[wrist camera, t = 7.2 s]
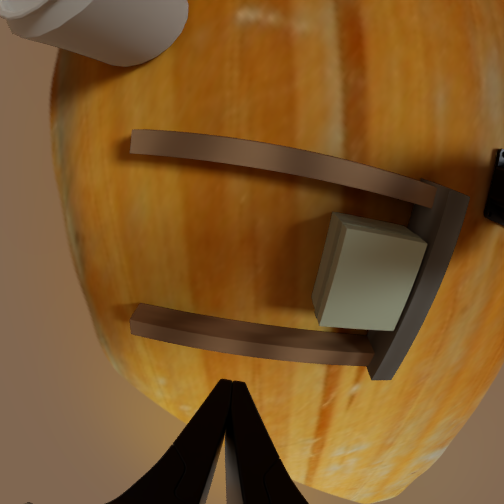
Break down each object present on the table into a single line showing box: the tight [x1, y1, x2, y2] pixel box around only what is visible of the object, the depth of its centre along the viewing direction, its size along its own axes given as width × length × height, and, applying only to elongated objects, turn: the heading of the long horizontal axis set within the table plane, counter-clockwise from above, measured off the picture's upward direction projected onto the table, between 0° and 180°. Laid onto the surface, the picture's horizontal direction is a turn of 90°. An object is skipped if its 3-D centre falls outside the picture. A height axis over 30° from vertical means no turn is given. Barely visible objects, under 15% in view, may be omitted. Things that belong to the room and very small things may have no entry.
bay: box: [130, 129, 470, 380], centre depth 20 cm, size 22×16×4 cm
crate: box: [311, 212, 427, 331], centre depth 20 cm, size 6×7×4 cm
